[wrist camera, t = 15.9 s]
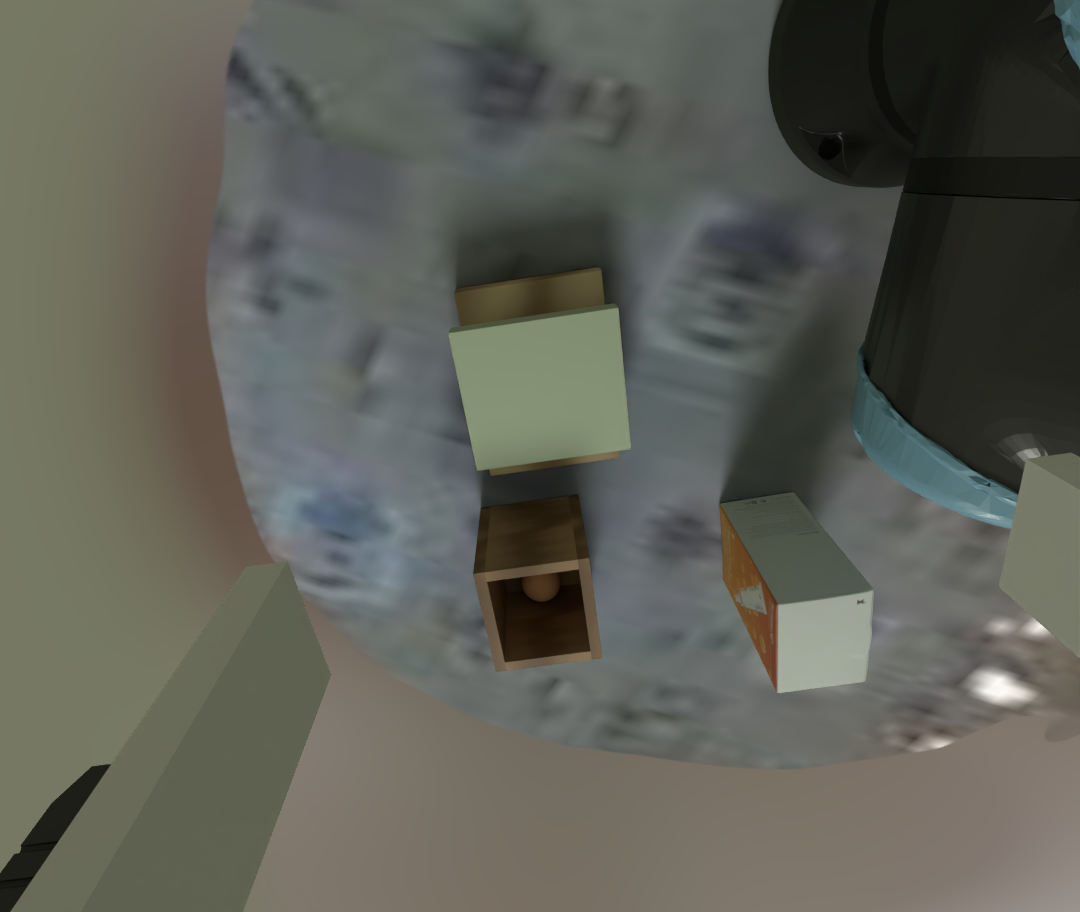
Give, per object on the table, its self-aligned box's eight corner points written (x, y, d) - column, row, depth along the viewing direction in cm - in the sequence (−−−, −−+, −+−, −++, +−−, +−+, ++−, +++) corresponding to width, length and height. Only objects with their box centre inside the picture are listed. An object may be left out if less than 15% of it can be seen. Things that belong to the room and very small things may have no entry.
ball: (556, 551, 52) (559, 574, 49) (561, 582, 53) (564, 607, 50) (518, 557, 52) (518, 580, 49) (524, 587, 53) (525, 612, 50)
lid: (612, 298, 42) (618, 307, 39) (624, 432, 46) (630, 449, 44) (452, 322, 42) (448, 333, 40) (479, 453, 47) (477, 470, 44)
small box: (717, 501, 51) (776, 603, 39) (794, 489, 51) (878, 588, 39) (721, 581, 54) (776, 696, 43) (793, 570, 54) (869, 683, 42)
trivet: (598, 267, 43) (601, 270, 41) (617, 449, 49) (619, 457, 47) (455, 288, 43) (453, 292, 42) (491, 467, 49) (490, 476, 48)
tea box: (578, 494, 50) (589, 558, 42) (590, 583, 54) (602, 658, 46) (480, 507, 50) (473, 573, 42) (499, 596, 54) (495, 671, 46)
